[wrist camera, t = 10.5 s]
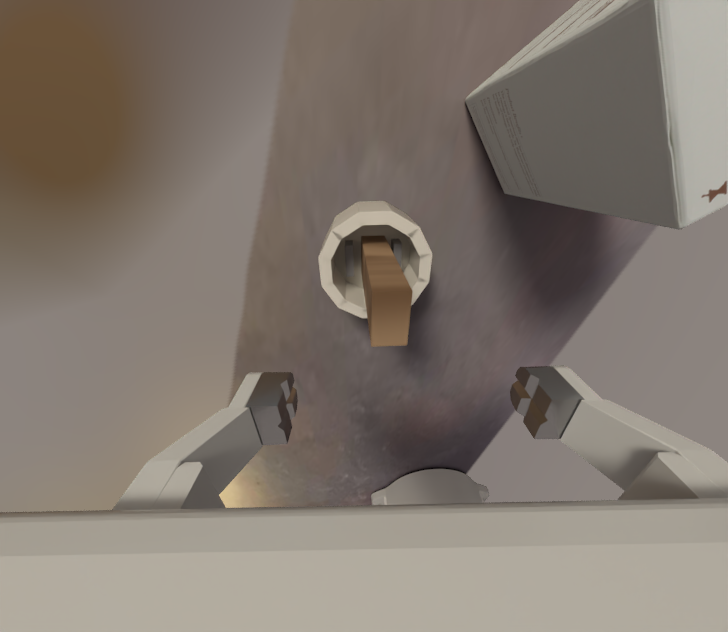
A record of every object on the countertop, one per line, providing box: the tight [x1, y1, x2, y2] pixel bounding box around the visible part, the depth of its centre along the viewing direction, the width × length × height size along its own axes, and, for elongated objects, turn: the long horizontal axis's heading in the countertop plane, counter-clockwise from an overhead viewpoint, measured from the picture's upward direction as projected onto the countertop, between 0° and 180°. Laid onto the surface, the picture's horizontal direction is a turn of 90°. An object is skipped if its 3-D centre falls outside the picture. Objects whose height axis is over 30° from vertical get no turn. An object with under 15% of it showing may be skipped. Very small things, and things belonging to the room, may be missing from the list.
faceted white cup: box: [318, 201, 432, 318], centre depth 20 cm, size 8×8×4 cm
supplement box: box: [465, 0, 728, 229], centre depth 12 cm, size 7×7×13 cm
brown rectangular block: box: [361, 236, 413, 347], centre depth 17 cm, size 3×2×10 cm, turn 0°
